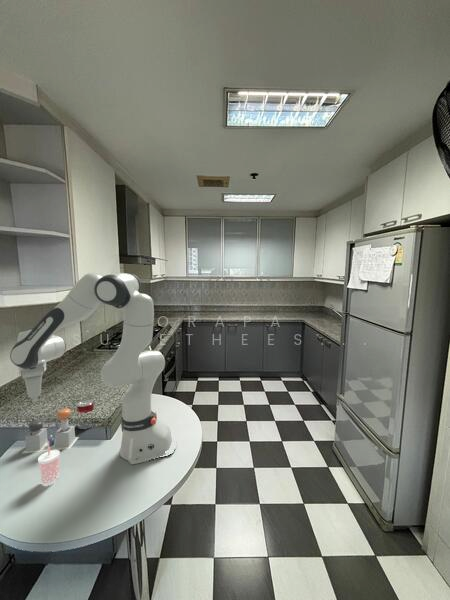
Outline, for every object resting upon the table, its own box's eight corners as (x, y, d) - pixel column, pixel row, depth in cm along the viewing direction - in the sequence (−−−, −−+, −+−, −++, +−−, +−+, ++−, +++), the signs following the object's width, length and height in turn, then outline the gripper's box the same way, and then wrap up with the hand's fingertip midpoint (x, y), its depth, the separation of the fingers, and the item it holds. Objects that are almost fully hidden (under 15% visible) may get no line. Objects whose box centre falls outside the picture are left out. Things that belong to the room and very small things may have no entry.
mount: (79, 439, 108) (78, 423, 107) (69, 451, 100) (69, 434, 99) (34, 443, 105) (33, 427, 105) (21, 455, 97) (20, 438, 97)
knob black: (46, 441, 104) (45, 419, 104) (39, 447, 100) (38, 425, 99) (34, 442, 104) (33, 420, 103) (27, 449, 99) (25, 426, 99)
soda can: (87, 433, 112) (86, 407, 112) (73, 431, 114) (72, 406, 113) (98, 424, 119) (97, 400, 119) (85, 423, 121) (84, 399, 120)
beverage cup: (44, 476, 86) (42, 437, 86) (64, 472, 88) (61, 434, 87) (35, 489, 80) (33, 448, 80) (56, 485, 82) (54, 445, 81)
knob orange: (73, 429, 105) (72, 408, 105) (68, 435, 101) (67, 413, 101) (62, 430, 105) (60, 408, 104) (56, 436, 100) (54, 414, 100)
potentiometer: (56, 442, 104) (55, 433, 104) (52, 446, 101) (52, 436, 101) (50, 443, 103) (49, 434, 103) (46, 446, 101) (46, 437, 101)
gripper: (23, 364, 107) (25, 395, 107) (22, 375, 91) (24, 412, 91) (41, 361, 111) (43, 391, 111) (43, 371, 95) (45, 406, 95)
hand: (35, 401), depth 101 cm, fingers closed
